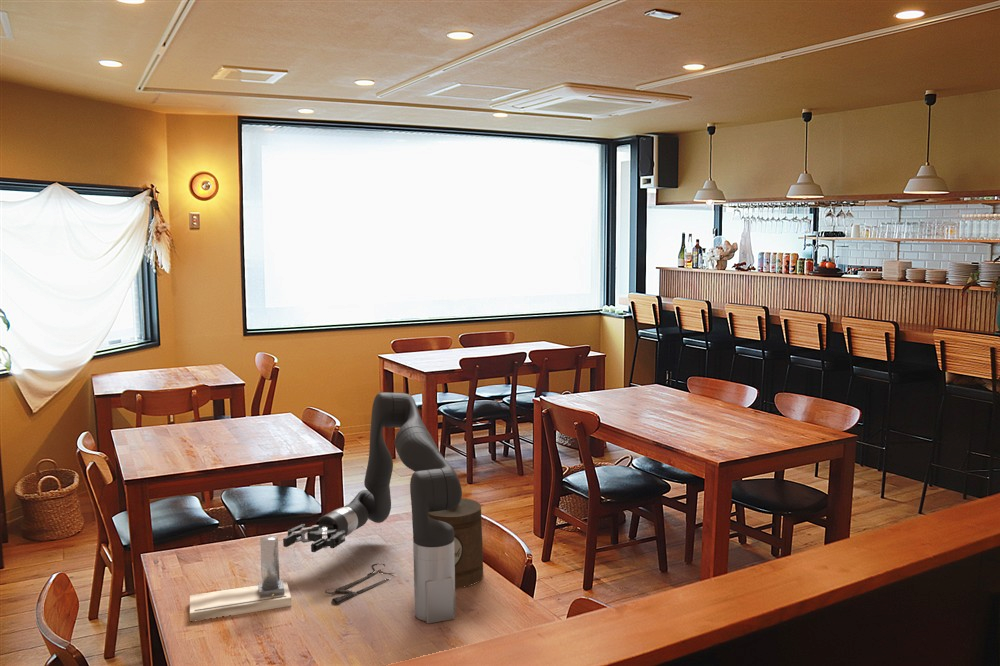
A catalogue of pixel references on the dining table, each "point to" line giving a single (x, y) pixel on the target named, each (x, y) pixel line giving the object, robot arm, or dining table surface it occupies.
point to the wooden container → (465, 540)
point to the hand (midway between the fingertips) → (298, 545)
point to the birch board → (234, 602)
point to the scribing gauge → (270, 568)
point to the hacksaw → (350, 593)
